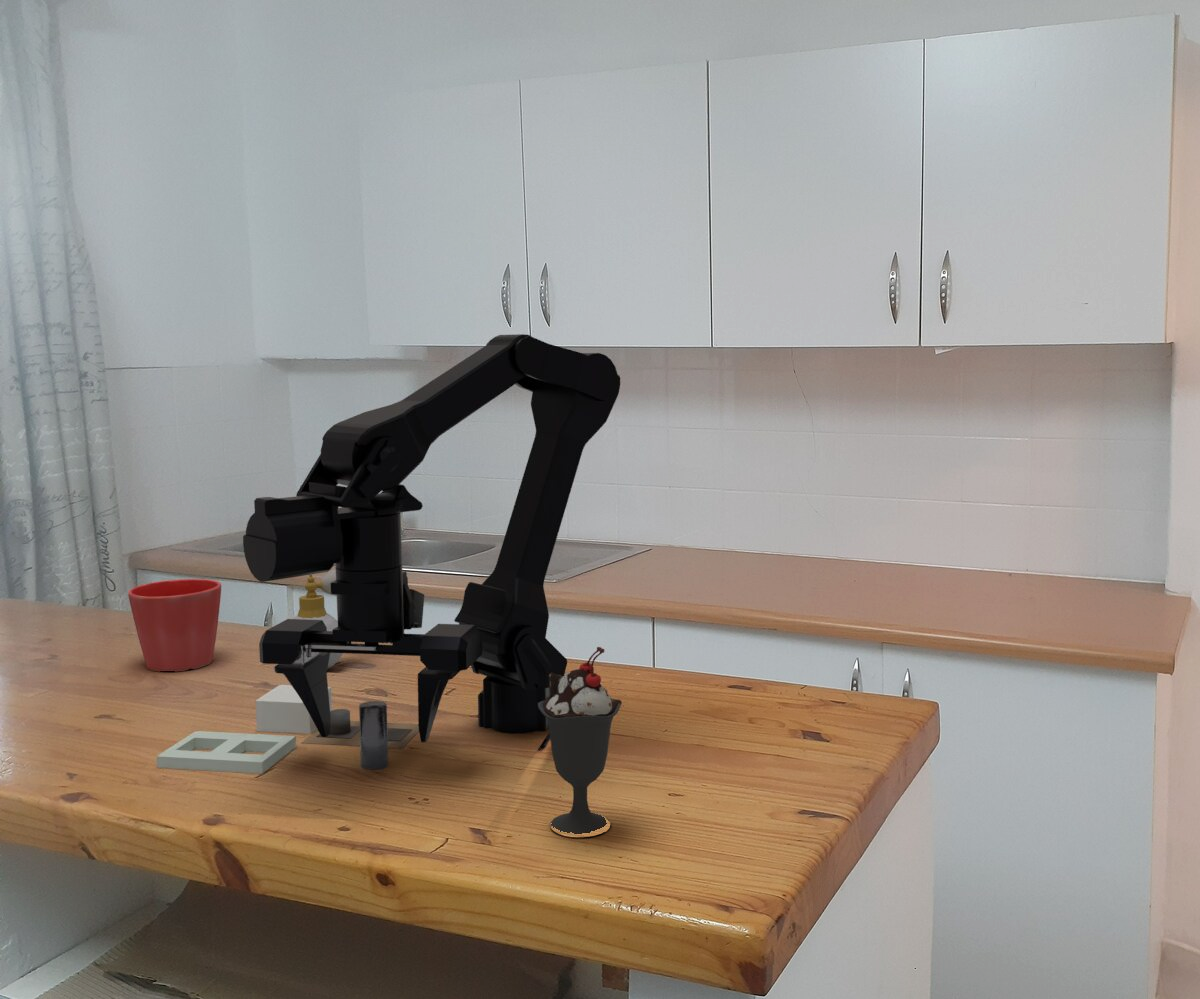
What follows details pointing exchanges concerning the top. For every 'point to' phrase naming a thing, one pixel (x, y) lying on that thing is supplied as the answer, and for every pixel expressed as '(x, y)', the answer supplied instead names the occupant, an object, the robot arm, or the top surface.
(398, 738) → the board
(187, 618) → the flower pot
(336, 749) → the top surface
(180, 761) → the board
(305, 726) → the white rectangular block
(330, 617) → the perfume bottle
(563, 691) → the sundae
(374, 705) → the peg
